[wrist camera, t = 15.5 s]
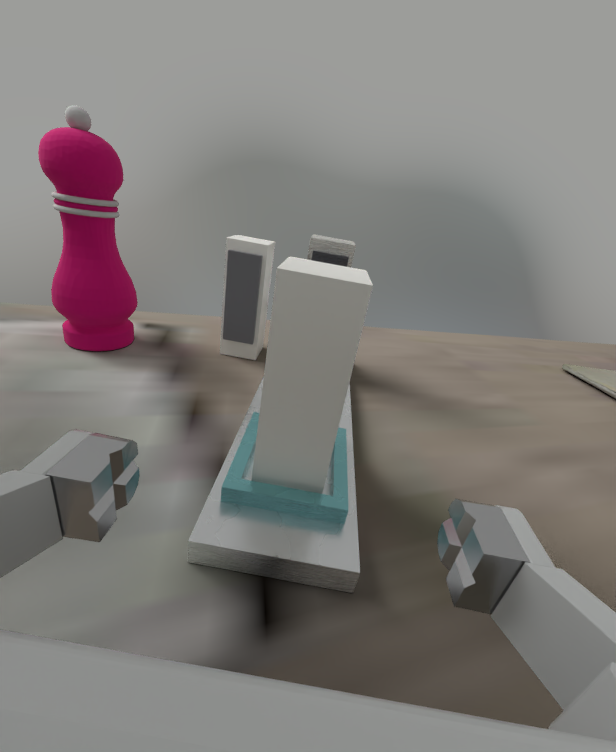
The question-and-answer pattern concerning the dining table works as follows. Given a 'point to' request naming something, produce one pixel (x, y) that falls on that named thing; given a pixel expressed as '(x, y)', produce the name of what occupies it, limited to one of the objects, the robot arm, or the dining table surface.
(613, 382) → the decorative slab
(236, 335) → the block
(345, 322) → the tall white upright block
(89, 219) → the pepper mill
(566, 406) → the dining table surface
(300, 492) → the rail
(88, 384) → the dining table surface
